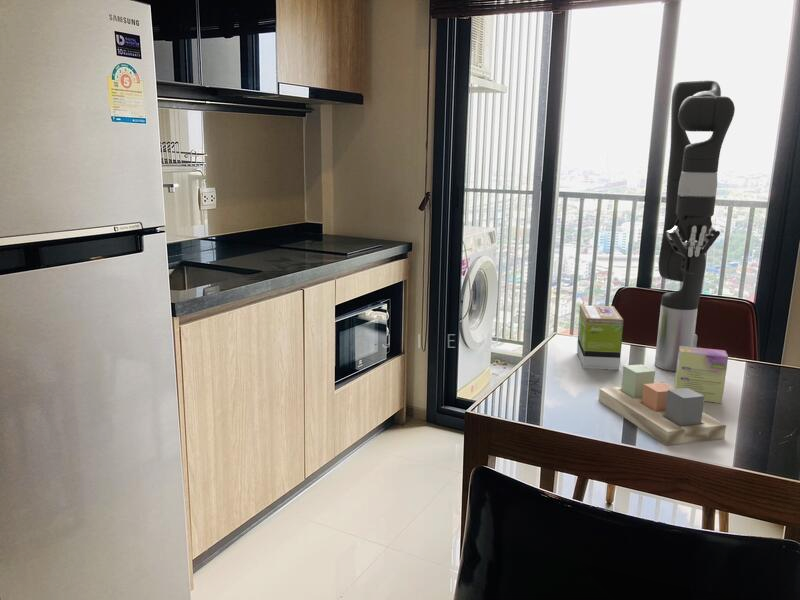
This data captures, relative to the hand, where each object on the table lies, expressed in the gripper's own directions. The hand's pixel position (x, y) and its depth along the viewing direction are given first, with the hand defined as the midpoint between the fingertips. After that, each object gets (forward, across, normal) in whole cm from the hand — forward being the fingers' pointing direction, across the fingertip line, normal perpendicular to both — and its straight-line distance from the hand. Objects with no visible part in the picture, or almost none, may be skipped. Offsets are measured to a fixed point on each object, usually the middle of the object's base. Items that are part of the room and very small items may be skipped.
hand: (687, 272), depth 144 cm
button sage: (+29, +7, -4) cm, 30 cm away
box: (+32, -11, -5) cm, 34 cm away
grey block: (+29, +7, +12) cm, 33 cm away
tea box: (+32, -2, -35) cm, 48 cm away
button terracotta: (+31, +7, +4) cm, 32 cm away
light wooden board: (+32, +7, +4) cm, 33 cm away
